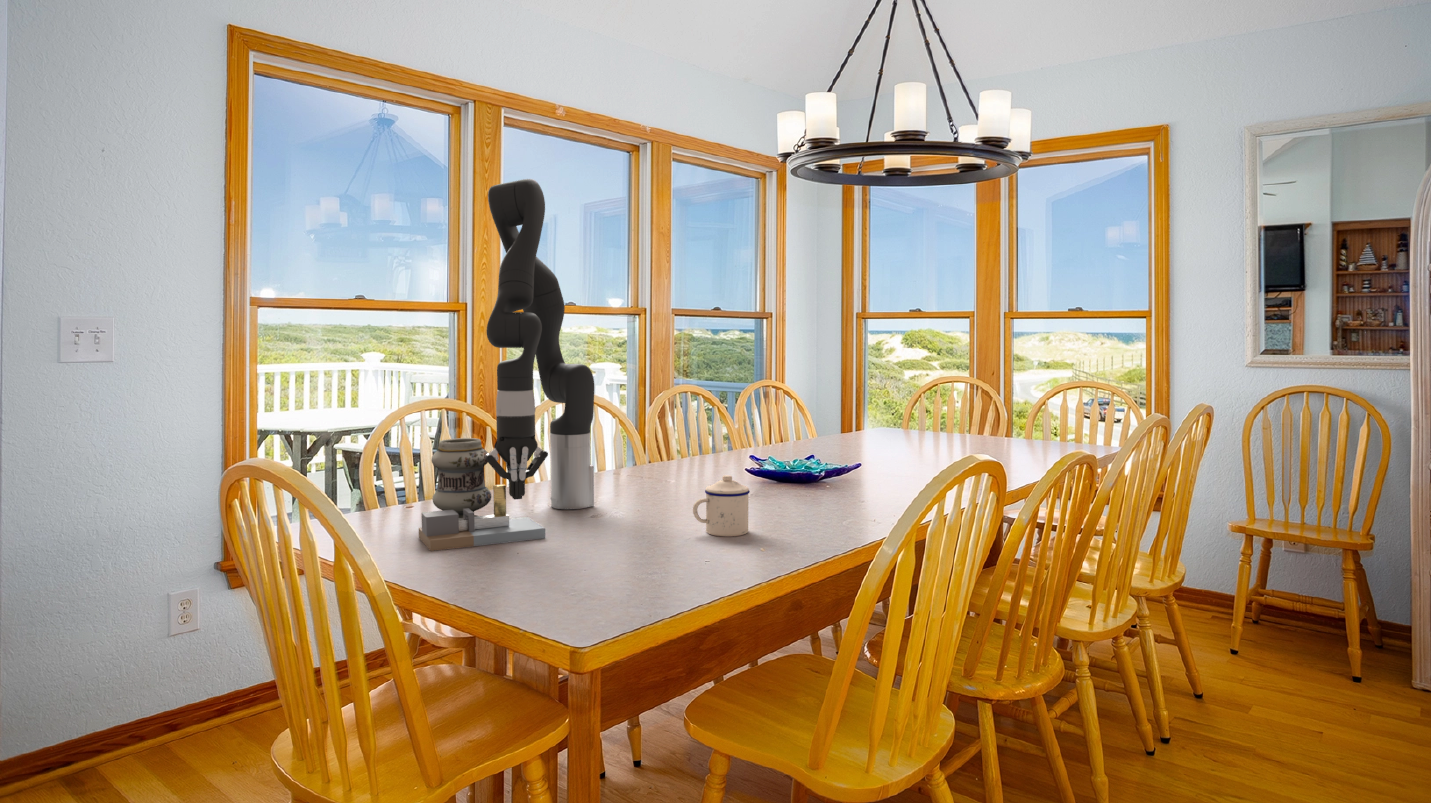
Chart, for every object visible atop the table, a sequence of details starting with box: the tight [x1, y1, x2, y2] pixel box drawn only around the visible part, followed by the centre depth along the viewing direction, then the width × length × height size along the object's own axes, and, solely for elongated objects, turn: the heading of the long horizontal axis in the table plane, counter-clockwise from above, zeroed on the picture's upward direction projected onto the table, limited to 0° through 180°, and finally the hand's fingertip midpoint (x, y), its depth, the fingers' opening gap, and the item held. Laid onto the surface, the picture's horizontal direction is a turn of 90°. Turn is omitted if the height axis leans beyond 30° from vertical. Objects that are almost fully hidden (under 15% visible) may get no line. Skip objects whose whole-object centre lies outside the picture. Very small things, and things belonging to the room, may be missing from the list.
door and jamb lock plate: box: [418, 508, 546, 552], centre depth 177 cm, size 22×12×6 cm, turn 118°
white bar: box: [459, 484, 510, 531], centre depth 177 cm, size 10×2×8 cm, turn 118°
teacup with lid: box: [692, 474, 750, 538], centre depth 181 cm, size 12×9×12 cm
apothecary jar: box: [430, 437, 492, 518], centre depth 189 cm, size 12×12×18 cm
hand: (517, 498), depth 180 cm, fingers closed
